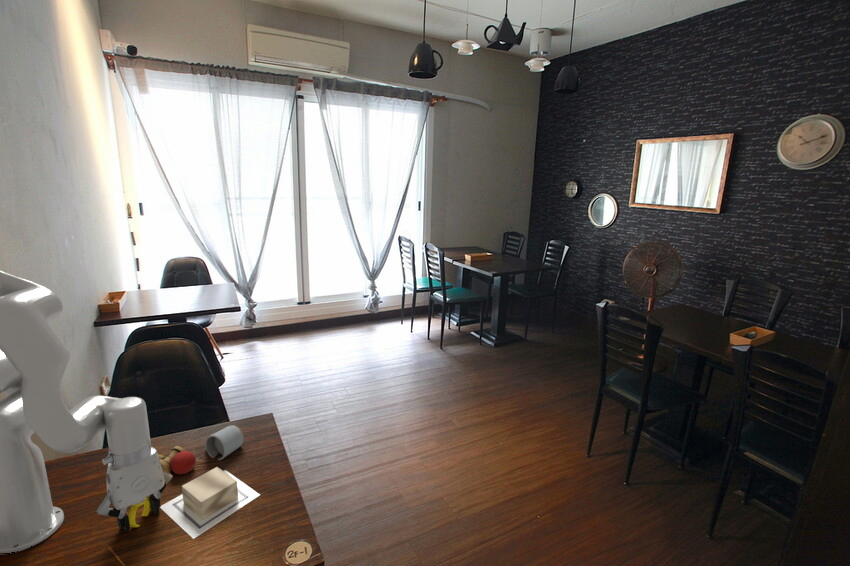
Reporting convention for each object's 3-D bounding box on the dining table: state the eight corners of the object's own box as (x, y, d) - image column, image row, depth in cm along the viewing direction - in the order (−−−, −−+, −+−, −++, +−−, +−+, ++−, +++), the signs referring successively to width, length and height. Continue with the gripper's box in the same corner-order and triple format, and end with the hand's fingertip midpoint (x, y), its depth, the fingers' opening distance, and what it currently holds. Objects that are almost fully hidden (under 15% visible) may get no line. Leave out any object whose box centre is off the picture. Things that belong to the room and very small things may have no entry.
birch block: (202, 520, 98) (201, 502, 96) (183, 503, 102) (181, 486, 101) (238, 497, 105) (236, 481, 104) (218, 483, 110) (217, 466, 109)
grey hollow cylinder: (246, 447, 125) (245, 425, 124) (225, 463, 118) (223, 439, 116) (220, 439, 129) (218, 417, 127) (198, 454, 122) (195, 431, 120)
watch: (142, 513, 100) (140, 491, 99) (154, 513, 100) (152, 491, 99) (125, 532, 94) (123, 508, 93) (138, 532, 94) (136, 508, 93)
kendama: (127, 475, 114) (180, 481, 109) (126, 453, 114) (178, 457, 109) (153, 463, 121) (203, 467, 116) (151, 442, 121) (201, 445, 116)
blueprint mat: (193, 540, 92) (193, 538, 92) (159, 508, 101) (159, 506, 101) (260, 496, 106) (260, 494, 106) (225, 471, 115) (225, 469, 115)
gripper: (91, 480, 84) (103, 553, 88) (179, 440, 98) (186, 505, 102) (77, 465, 88) (90, 536, 92) (164, 429, 102) (171, 491, 106)
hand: (140, 519), depth 97 cm, fingers closed on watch, 5 cm apart
